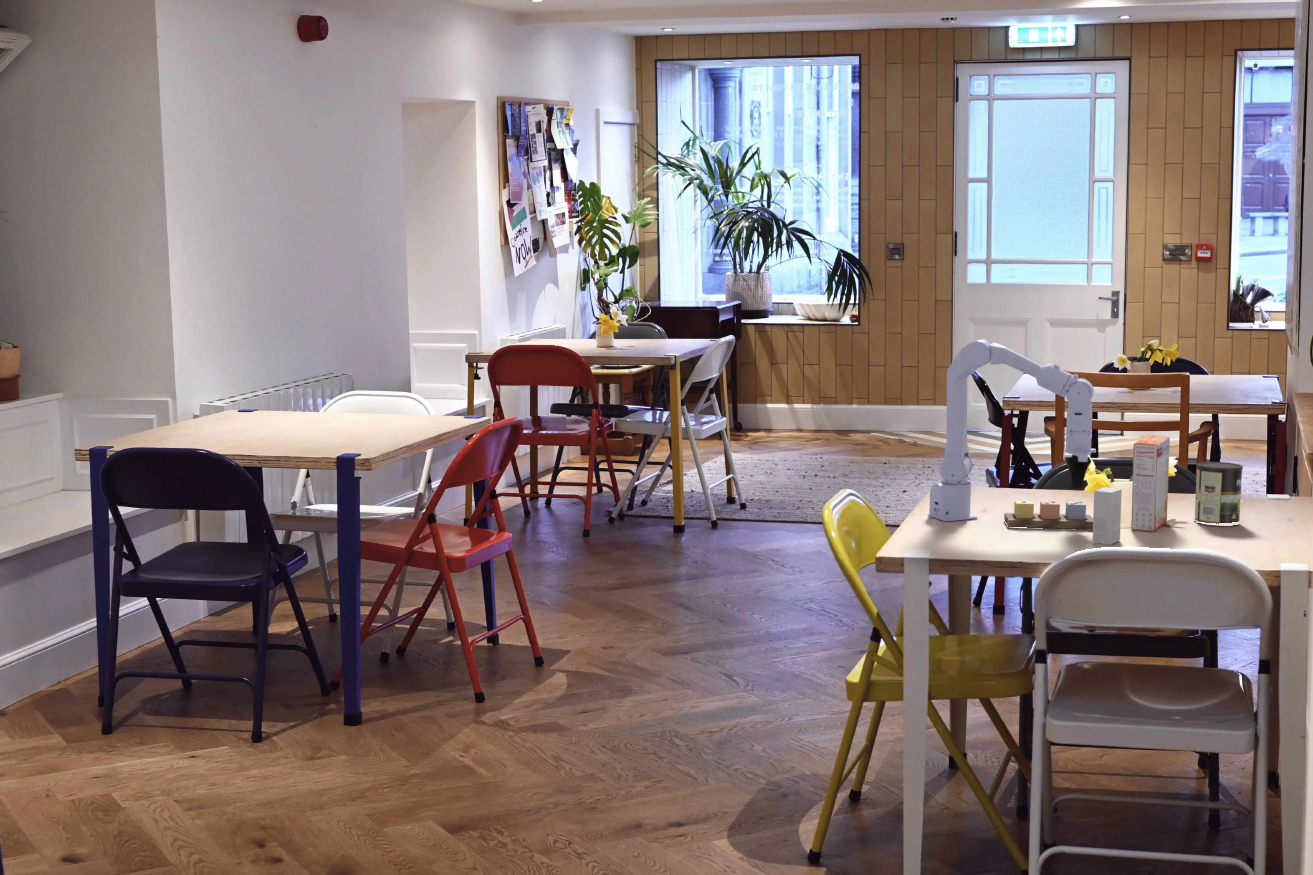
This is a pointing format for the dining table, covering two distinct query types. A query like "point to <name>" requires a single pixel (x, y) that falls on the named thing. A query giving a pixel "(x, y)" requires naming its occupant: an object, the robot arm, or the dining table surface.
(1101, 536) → the skincare box
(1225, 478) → the coffee can
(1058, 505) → the two dot tile
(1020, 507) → the yellow cube
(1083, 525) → the brown flat board
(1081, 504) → the light blue cube
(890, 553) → the dining table surface
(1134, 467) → the cracker box
